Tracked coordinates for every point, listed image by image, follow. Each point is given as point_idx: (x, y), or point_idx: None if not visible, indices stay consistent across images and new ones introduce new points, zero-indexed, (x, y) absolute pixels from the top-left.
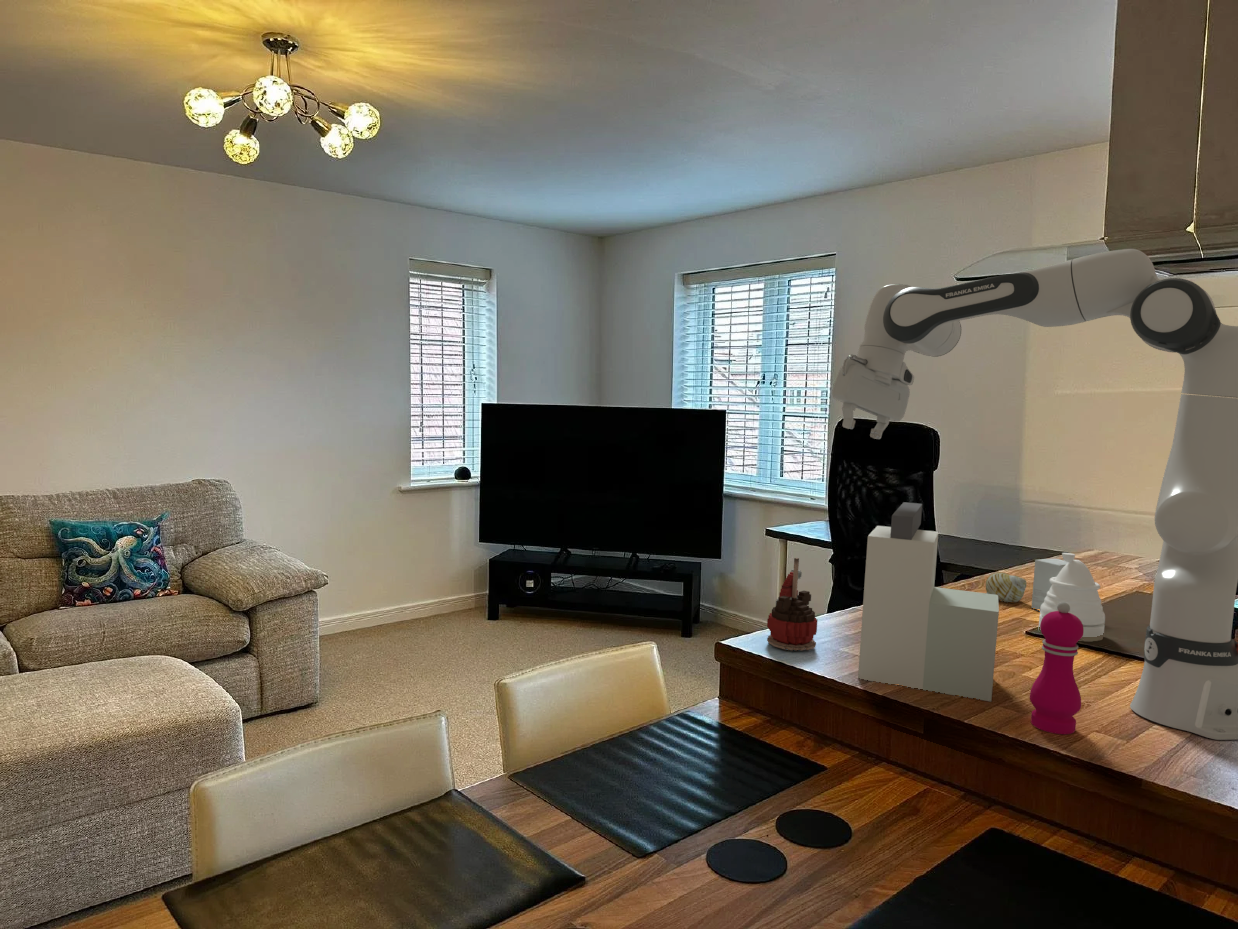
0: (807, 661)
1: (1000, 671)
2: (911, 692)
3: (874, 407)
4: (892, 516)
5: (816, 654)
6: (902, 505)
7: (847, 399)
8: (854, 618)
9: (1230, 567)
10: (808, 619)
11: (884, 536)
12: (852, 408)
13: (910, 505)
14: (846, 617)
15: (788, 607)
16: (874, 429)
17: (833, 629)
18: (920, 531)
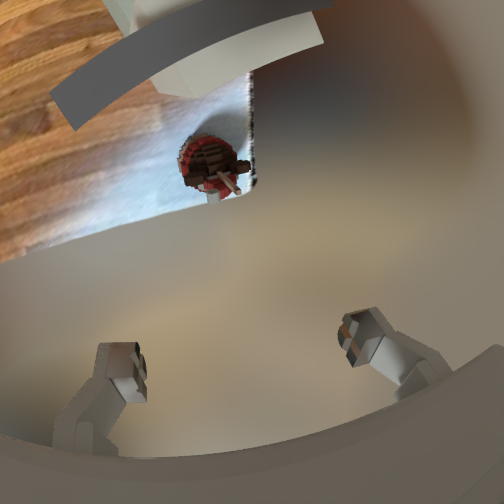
0: (226, 114)
1: (70, 10)
2: None
3: (314, 455)
4: (332, 5)
5: (199, 125)
6: (146, 74)
7: (496, 345)
8: (53, 221)
9: None
10: (213, 143)
11: (304, 22)
12: (435, 359)
13: (120, 68)
14: (59, 227)
15: (233, 163)
16: (139, 390)
17: (107, 191)
18: (174, 11)
